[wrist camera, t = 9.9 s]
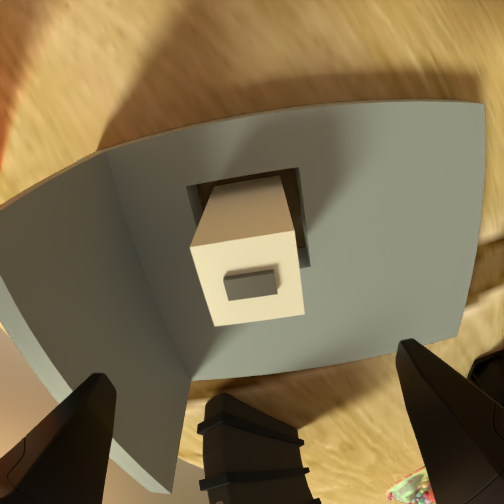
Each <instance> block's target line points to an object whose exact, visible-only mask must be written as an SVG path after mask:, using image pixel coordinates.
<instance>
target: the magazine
mask: <svg viewBox="0 0 504 504" xmlns="http://www.w3.org/2000/svg"><path fill="white" fill-rule="evenodd" d="M197 434H200V435H203V463H204V472H205V479H203V480H199V485H200V490H201V491H207V492H208V497H209V503H210V504H321V501H320V499H319V498H316V499H313V497H312V494H311V492H310V490H309V487H308V484H307V481H306V477H305V474H306V473H309V472H310V471H309V467H307V468H303V465H302V461H301V455H300V449H299V447H301V446H303V445H304V440H302V439H299V438H298V431H297V429H295V428H293V427H291V426H288V425H286V424H284V423H282V422H280V421H278V420H276V419H274V418H272V417H270V416H268V415H266V414H264V413H262V412H260V411H258V410H256V409H254V408H252V407H250V406H248V405H246V404H244V403H242V402H240V401H239V400H237V399H235V398H233V397H231V396H229V395H227V394H221V395H220V396H218V397H216V398H215V399H213V400H211V401H210V402H208V403H207V404H206V406H205V417H204V421H203V422H201V423H199V424H198V427H197Z"/></svg>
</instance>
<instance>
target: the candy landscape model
mask: <svg viewBox="0 0 504 504" xmlns="http://www.w3.org/2000/svg"><path fill="white" fill-rule="evenodd" d="M385 496H387V497H388V499H389V500H390V501H391V500H392V498H391V497H393V498H395V499H396V501H397V500H398V501H400V502H404V503H405V504H426V503H427V504H436V502H435V498H434V495H433V491H432V488H431V484H430V481H429V478H428V474H427V471H426V468H425V466H424V467H422V468H420V469H418V470H416V471H415V472H413V473H412V474H410V475H408V476H406V477H404V478H403V479H401V480H399V481H397V482H396V483H395V484H394V485H392V486H391V487H389V488H388V489H387V491H386V493H385ZM395 499H394V500H395Z"/></svg>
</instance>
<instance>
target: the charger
mask: <svg viewBox="0 0 504 504" xmlns="http://www.w3.org/2000/svg"><path fill="white" fill-rule="evenodd" d="M190 250H191V254H192V257H193V260H194V264H195V267H196V270H197V273H198V277H199V280H200V283H201V286H202V289H203V292H204V296H205V299H206V302H207V305H208V308H209V311H210V314H211V317H212V320H213V323H214V326H223V325H232V324H240V323H248V322H255V321H263V320H270V319H277V318H284V317H291V316H297V315H304V314H305V311H304V303H303V294H302V285H301V277H300V269H299V261H298V253H297V246H296V238H295V231H294V227H293V223H292V219H291V215H290V212H289V208H288V204H287V200H286V197H285V193H284V189H283V186H282V182H281V179H280V175H279V176H273V177H266V178H260V179H254V180H249V181H243V182H237V183H232V184H226V185H221V186H216V187H214V188H213V190H212V193H211V195H210V198H209V200H208V203H207V205H206V207H205V210H204V212H203V215H202V217H201V220H200V222H199V225H198V227H197V230H196V232H195V235H194V238H193V240H192V243H191V245H190Z"/></svg>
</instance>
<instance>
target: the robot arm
mask: <svg viewBox="0 0 504 504" xmlns="http://www.w3.org/2000/svg"><path fill="white" fill-rule="evenodd" d="M396 368H397V372H398V376H399V380H400V384H401V389H402V393H403V397H404V402H405V406H406V410H407V413H408V416H409V419H410V422H411V425H412V428H413V431H414V433H415V436H416V439H417V442H418V445H419V449H420V452H421V455H422V458H423V461H424V464H425V468H426V471H427V474H428V478H429V481H430V484H431V488H432V491H433V495H434V498H435V502H436V504H504V350H503V351H500V352H497V353H495V354H492V355H490V356H487V357H484V358H482V359H479V360H476V361H475V362H474V363H473V365H472V368H471V370H470V372H469V375H468V377H467V379H466V378H465V377H464V376H462V375H461V374H460V373H458V372H457V371H456V370H454V369H453V368H452V367H451V366H449V365H448V364H447V363H445V362H444V361H443V360H441V359H440V358H439V357H438V356H436V355H435V354H434V353H432V352H431V351H430V350H428V349H427V348H426V347H424V346H423V345H422V344H420V343H419V342H418V341H416V340H415V339H413V338H408V339H404V340H401V341H399V343H398V349H397V354H396ZM116 399H117V391H116V388H115V387H114V385H113V384H112V382H111V381H110V379H109V378H108V376H107V375H106V374H105V373H100V372H95V373H92V374H91V375H90V376H89V377H88V378H87V379H86V380H85V381H84V382H82V383H81V384H80V385H79V386H78V387H77V388H76V389H75V390H74V391H73V392H72V393H71V394H70V395H68V396H67V397H66V398H65V399H64V400H63V401H62V402H61V403H60V404H59V405H58V406H57V407H56V408H55V409H54V410H52V411H51V412H50V413H49V414H48V415H47V416H46V417H45V418H44V419H43V420H42V421H41V422H40V423H39V424H38V425H37V426H36V427H34V428H33V429H32V430H31V431H30V432H29V433H28V434H27V435H26V437H24V438H23V439H22V440H21V441H20V442H19V443H18V444H17V445H15V446H14V447H13V448H12V449H11V450H10V451H9V452H8V453H6V454H5V455H4V456H3V457H2V458H0V504H102V499H103V491H104V485H105V478H106V472H107V466H108V459H109V454H110V448H111V443H112V437H113V430H114V419H115V409H116Z"/></svg>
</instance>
